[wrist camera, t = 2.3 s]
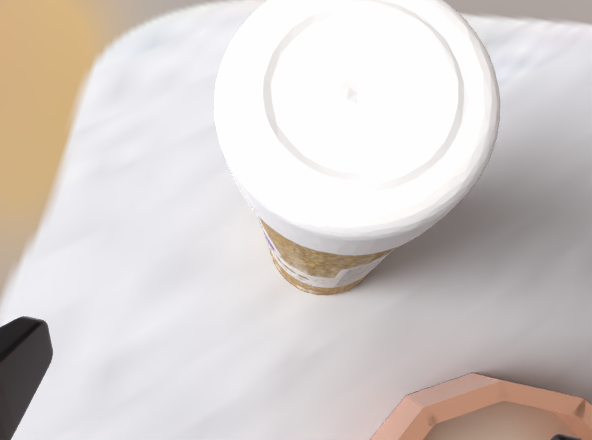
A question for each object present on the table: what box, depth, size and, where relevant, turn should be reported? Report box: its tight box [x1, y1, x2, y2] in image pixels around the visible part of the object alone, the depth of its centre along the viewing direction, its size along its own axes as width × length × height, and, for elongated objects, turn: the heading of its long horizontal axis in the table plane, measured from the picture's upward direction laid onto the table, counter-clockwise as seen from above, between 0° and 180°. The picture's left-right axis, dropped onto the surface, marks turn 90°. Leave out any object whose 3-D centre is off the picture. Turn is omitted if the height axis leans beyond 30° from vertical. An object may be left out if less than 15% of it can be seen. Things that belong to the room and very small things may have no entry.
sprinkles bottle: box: [214, 0, 500, 295], centre depth 14 cm, size 5×5×13 cm
